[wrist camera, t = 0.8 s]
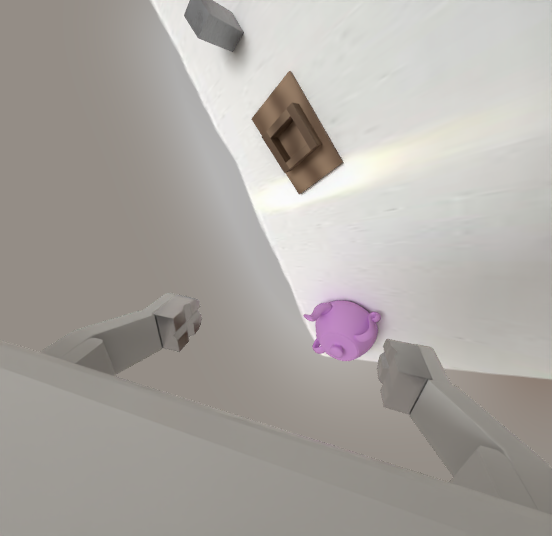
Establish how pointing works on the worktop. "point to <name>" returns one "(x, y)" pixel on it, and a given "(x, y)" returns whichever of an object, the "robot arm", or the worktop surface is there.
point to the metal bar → (213, 23)
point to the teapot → (343, 329)
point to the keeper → (296, 135)
